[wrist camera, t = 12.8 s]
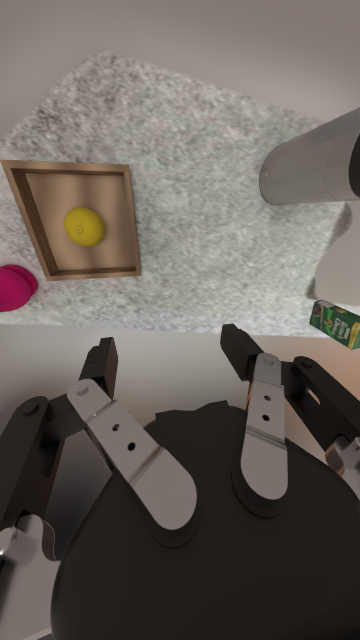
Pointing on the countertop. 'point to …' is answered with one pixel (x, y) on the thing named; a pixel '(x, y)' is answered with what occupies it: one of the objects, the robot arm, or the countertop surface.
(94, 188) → the tray
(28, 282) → the pepper mill
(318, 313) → the coffee box
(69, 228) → the lemon
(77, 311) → the countertop surface
